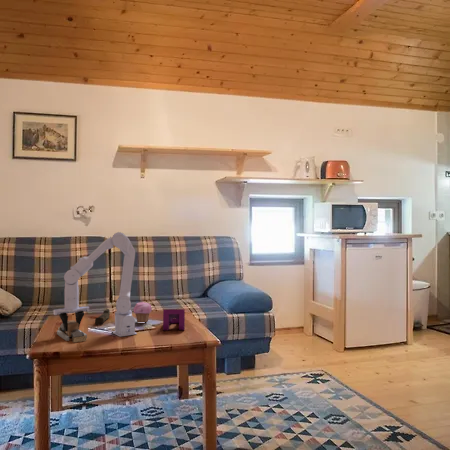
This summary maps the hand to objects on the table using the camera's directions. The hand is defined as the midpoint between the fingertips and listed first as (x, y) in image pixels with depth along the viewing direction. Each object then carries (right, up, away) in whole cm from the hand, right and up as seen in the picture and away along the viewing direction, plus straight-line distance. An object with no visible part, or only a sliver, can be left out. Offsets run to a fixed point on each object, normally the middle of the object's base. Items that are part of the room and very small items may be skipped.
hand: (71, 330), depth 194 cm
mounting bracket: (+42, -3, +17) cm, 45 cm away
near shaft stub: (+5, -3, -7) cm, 8 cm away
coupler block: (0, -2, 0) cm, 2 cm away
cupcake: (+25, -3, +26) cm, 37 cm away
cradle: (0, -3, 0) cm, 3 cm away
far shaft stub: (-5, -3, +7) cm, 8 cm away
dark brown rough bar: (+5, -3, +31) cm, 31 cm away
